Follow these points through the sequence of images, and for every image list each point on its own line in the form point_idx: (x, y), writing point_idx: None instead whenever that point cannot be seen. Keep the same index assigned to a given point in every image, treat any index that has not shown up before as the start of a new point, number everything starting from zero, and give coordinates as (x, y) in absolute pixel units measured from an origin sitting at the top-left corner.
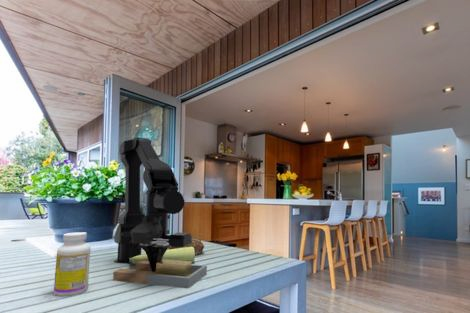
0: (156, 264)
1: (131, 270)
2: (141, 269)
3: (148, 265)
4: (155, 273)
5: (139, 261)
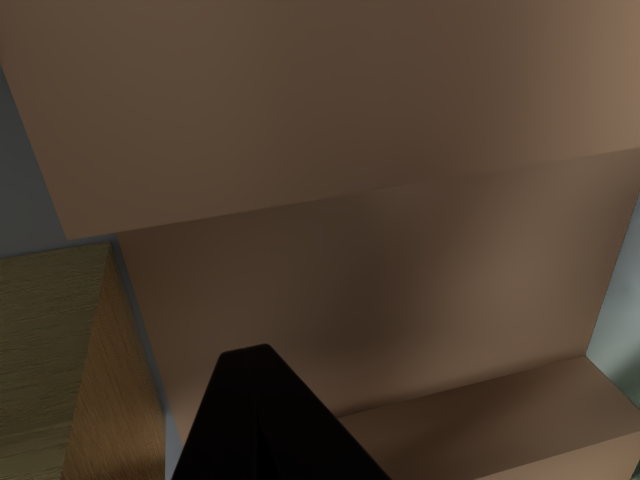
0: (64, 446)
1: (587, 112)
2: (520, 388)
3: (461, 461)
4: None
5: (625, 477)
